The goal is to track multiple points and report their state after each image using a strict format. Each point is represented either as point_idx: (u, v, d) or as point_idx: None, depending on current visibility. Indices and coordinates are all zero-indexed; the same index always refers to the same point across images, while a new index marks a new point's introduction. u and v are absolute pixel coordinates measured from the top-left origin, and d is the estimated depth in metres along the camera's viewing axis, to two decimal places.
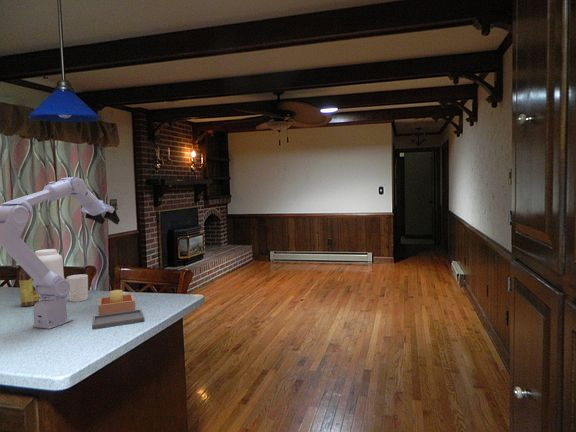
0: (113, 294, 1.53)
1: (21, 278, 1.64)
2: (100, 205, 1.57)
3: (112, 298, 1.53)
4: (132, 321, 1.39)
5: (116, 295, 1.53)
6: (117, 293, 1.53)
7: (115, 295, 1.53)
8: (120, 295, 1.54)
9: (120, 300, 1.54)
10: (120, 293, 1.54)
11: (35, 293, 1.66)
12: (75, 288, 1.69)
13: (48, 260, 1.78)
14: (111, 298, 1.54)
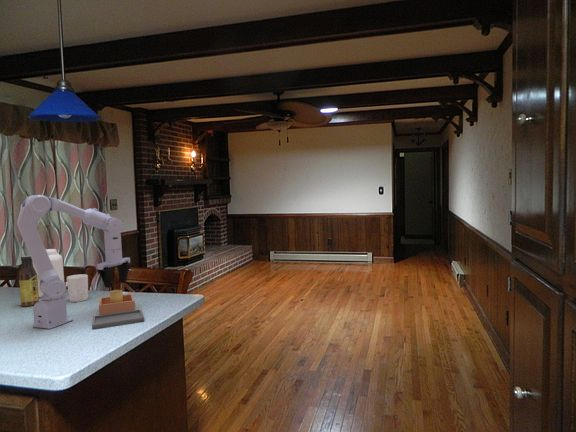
0: (113, 294, 1.53)
1: (21, 278, 1.64)
2: (109, 259, 1.52)
3: (112, 298, 1.53)
4: (132, 321, 1.39)
5: (116, 295, 1.53)
6: (117, 293, 1.53)
7: (115, 295, 1.53)
8: (120, 295, 1.54)
9: (120, 300, 1.54)
10: (120, 293, 1.54)
11: (35, 293, 1.66)
12: (75, 288, 1.69)
13: None
14: (111, 298, 1.54)
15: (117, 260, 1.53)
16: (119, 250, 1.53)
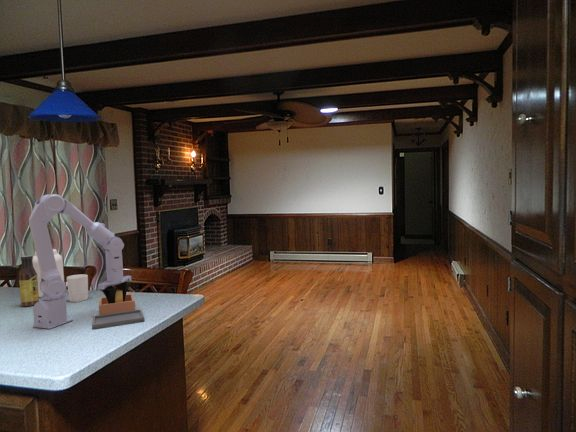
0: None
1: (21, 278, 1.64)
2: (110, 278, 1.52)
3: None
4: (132, 321, 1.39)
5: (116, 295, 1.53)
6: (117, 293, 1.53)
7: (115, 295, 1.53)
8: (120, 295, 1.54)
9: (120, 300, 1.54)
10: (120, 293, 1.54)
11: (35, 293, 1.66)
12: (75, 288, 1.69)
13: None
14: None
15: (118, 279, 1.53)
16: (120, 269, 1.54)
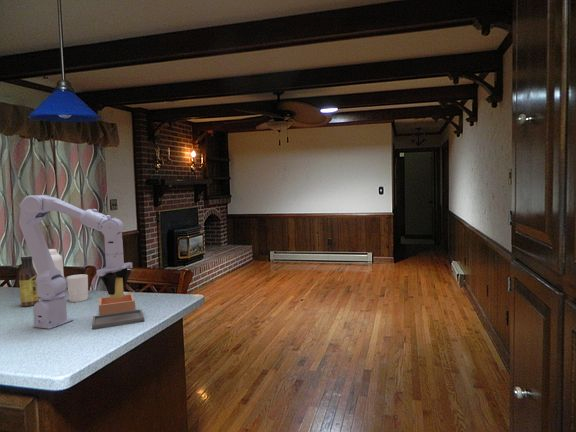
0: None
1: (21, 278, 1.64)
2: (110, 264, 1.40)
3: None
4: (132, 321, 1.39)
5: (115, 283, 1.41)
6: (117, 281, 1.41)
7: None
8: (120, 283, 1.42)
9: (120, 289, 1.42)
10: (120, 281, 1.42)
11: (35, 293, 1.66)
12: (75, 288, 1.69)
13: None
14: None
15: (118, 266, 1.40)
16: (120, 255, 1.41)
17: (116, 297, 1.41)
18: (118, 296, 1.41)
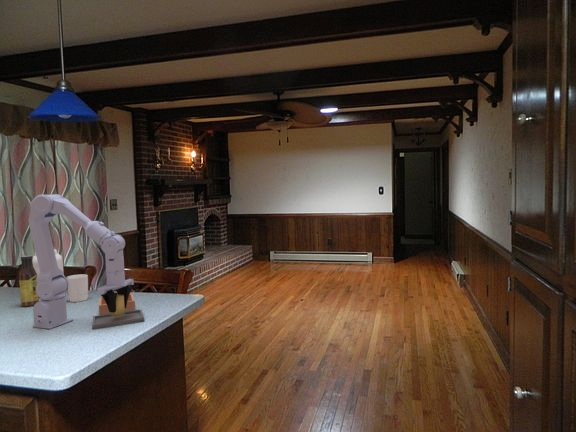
0: None
1: (21, 278, 1.64)
2: (110, 282, 1.38)
3: None
4: (132, 321, 1.39)
5: (116, 300, 1.40)
6: (118, 298, 1.40)
7: None
8: (121, 300, 1.41)
9: (121, 306, 1.41)
10: (121, 298, 1.41)
11: (35, 293, 1.66)
12: (75, 288, 1.69)
13: None
14: None
15: (119, 283, 1.39)
16: (122, 272, 1.40)
17: (117, 315, 1.40)
18: (119, 314, 1.40)
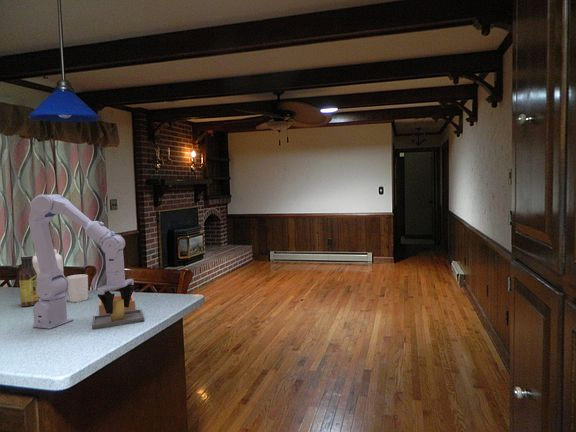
0: (113, 304, 1.39)
1: (21, 278, 1.64)
2: (110, 282, 1.38)
3: None
4: (132, 321, 1.39)
5: (116, 305, 1.40)
6: (117, 303, 1.40)
7: (115, 305, 1.40)
8: (121, 305, 1.41)
9: (121, 311, 1.41)
10: (121, 303, 1.41)
11: (35, 293, 1.66)
12: (75, 288, 1.69)
13: None
14: None
15: (119, 283, 1.39)
16: (122, 272, 1.40)
17: (117, 319, 1.40)
18: (119, 318, 1.40)
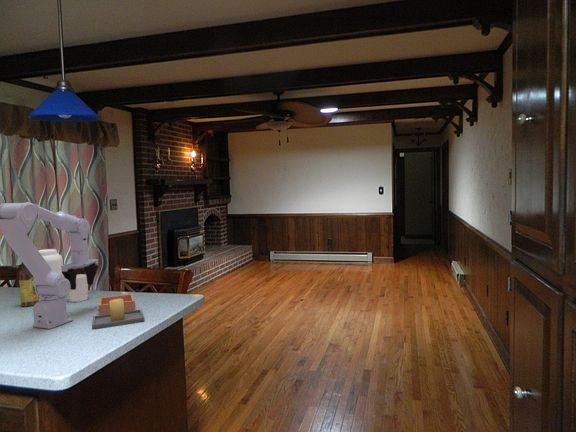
0: (113, 304, 1.39)
1: (21, 278, 1.64)
2: (74, 261, 1.50)
3: (112, 308, 1.40)
4: (132, 321, 1.39)
5: (116, 305, 1.40)
6: (117, 303, 1.40)
7: (115, 305, 1.39)
8: (120, 305, 1.40)
9: (121, 311, 1.41)
10: (120, 303, 1.40)
11: (35, 293, 1.66)
12: None
13: (48, 260, 1.78)
14: (111, 308, 1.40)
15: (82, 262, 1.51)
16: (85, 252, 1.52)
17: (117, 319, 1.40)
18: (119, 318, 1.40)
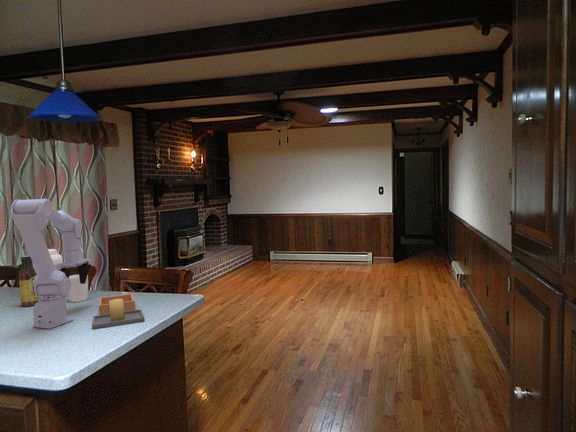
0: (112, 304, 1.39)
1: (21, 278, 1.64)
2: (67, 260, 1.53)
3: (111, 308, 1.40)
4: (132, 321, 1.39)
5: (115, 305, 1.40)
6: (116, 302, 1.40)
7: (114, 305, 1.40)
8: (120, 305, 1.40)
9: (120, 311, 1.41)
10: (120, 302, 1.40)
11: None
12: (75, 288, 1.69)
13: None
14: (110, 308, 1.40)
15: (75, 261, 1.54)
16: (78, 251, 1.55)
17: (116, 319, 1.40)
18: (118, 318, 1.40)
